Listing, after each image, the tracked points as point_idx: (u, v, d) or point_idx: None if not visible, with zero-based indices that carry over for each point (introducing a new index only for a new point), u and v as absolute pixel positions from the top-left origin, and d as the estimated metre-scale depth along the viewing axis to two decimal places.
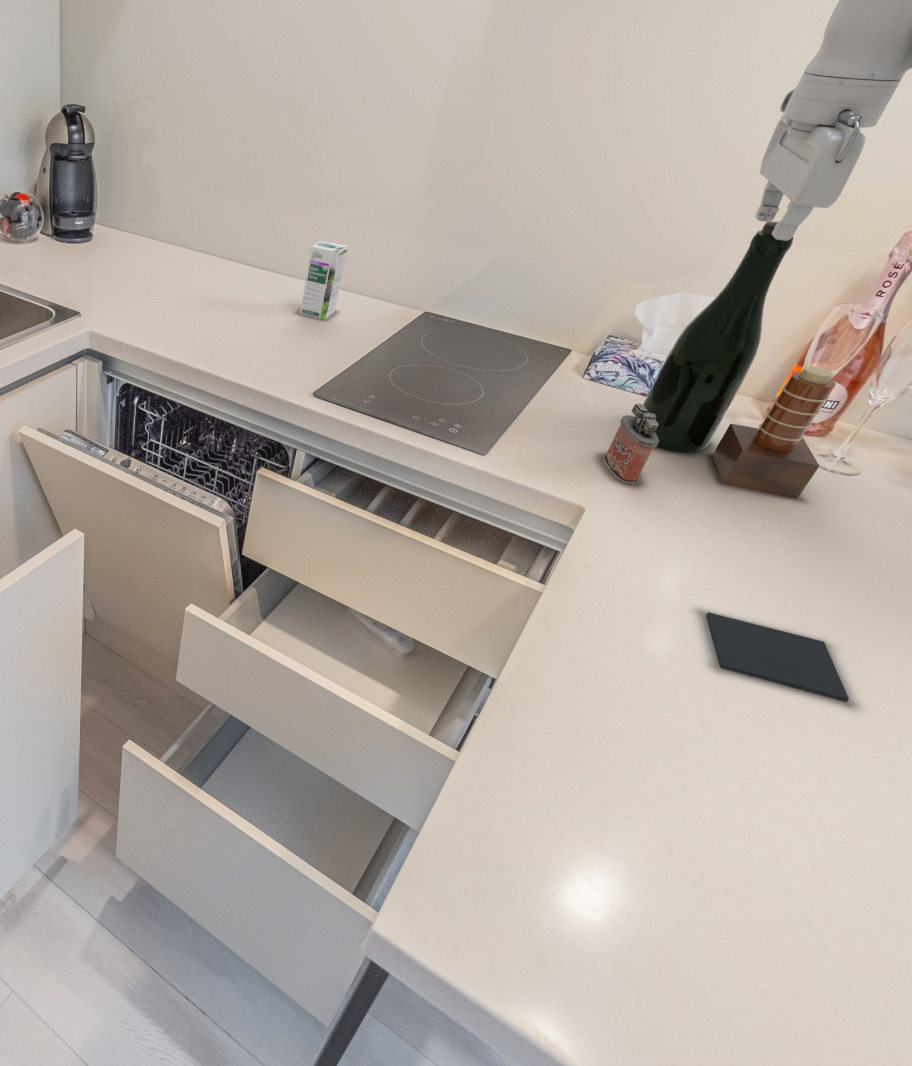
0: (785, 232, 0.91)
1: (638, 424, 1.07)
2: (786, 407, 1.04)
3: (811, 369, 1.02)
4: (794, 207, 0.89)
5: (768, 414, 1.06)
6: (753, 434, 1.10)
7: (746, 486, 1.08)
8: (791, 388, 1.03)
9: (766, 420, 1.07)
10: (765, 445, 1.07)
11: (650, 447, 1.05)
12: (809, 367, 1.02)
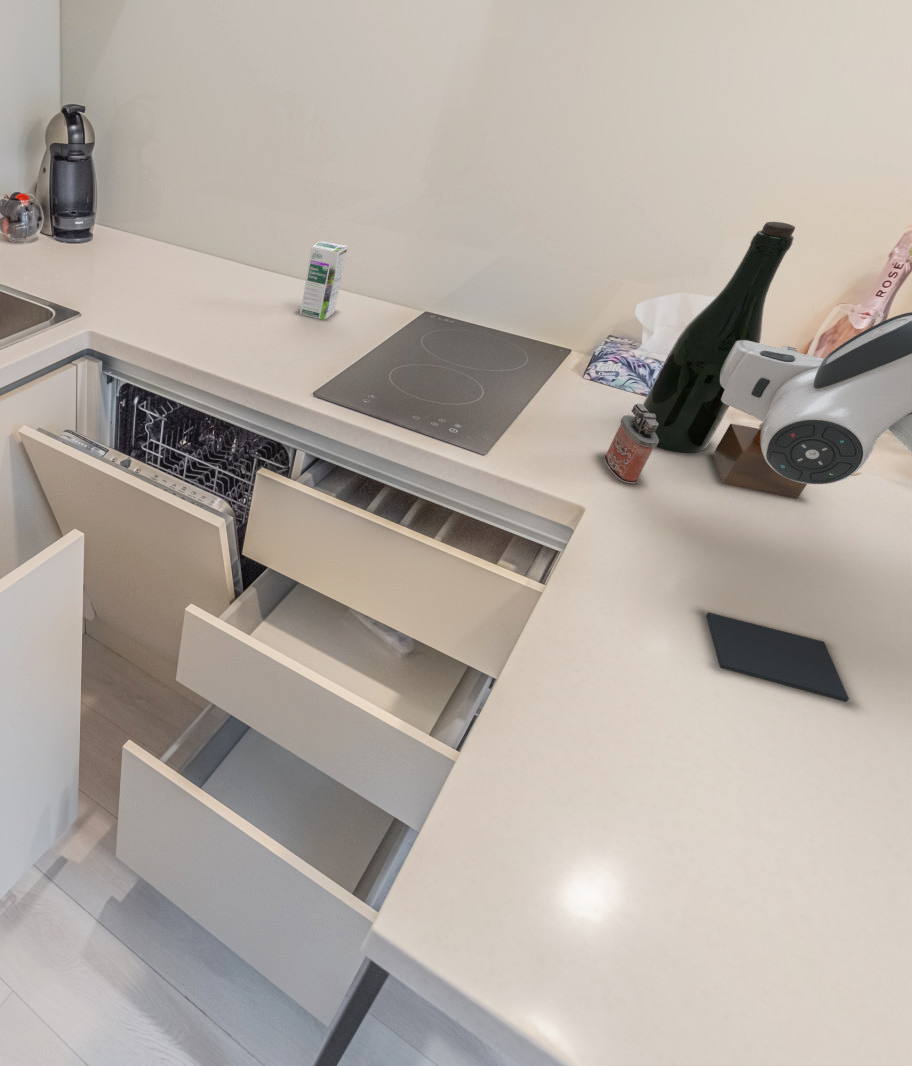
0: None
1: (638, 424, 1.07)
2: None
3: None
4: None
5: None
6: (753, 434, 1.10)
7: (746, 486, 1.08)
8: None
9: None
10: None
11: (650, 447, 1.05)
12: None
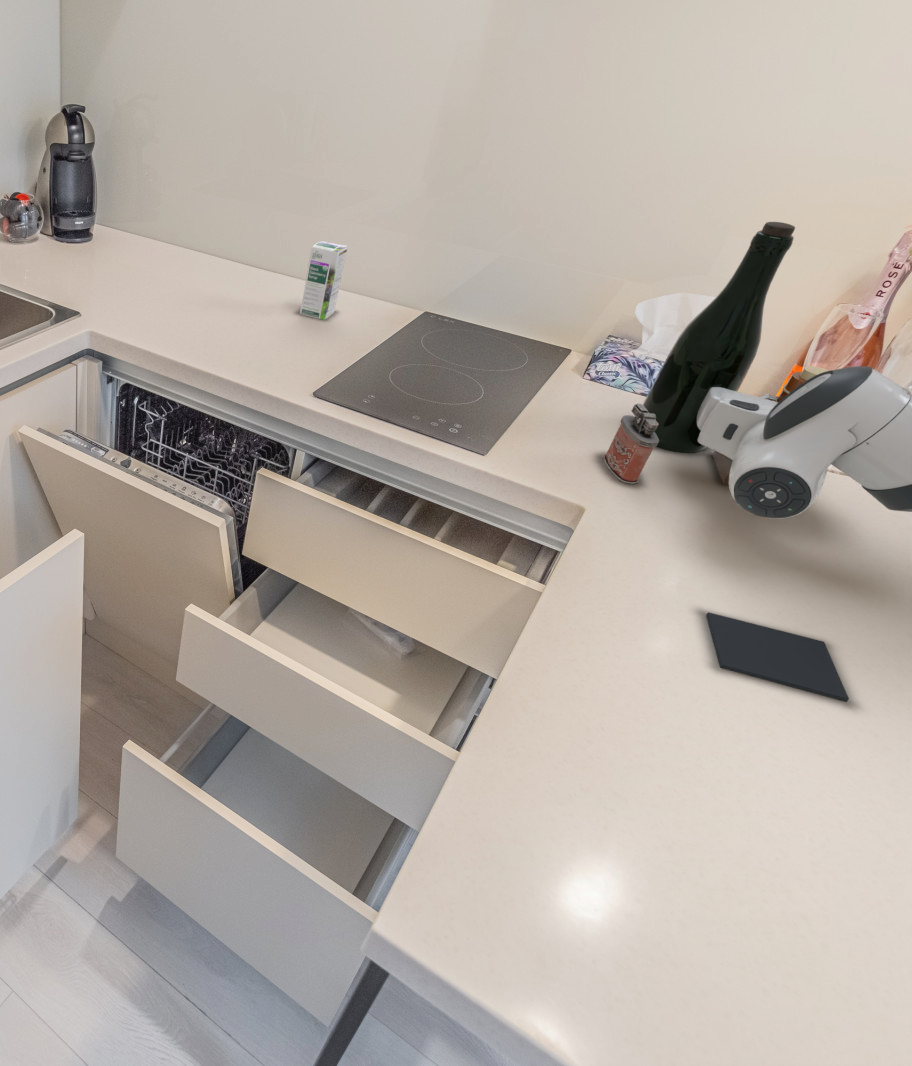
0: None
1: (638, 424, 1.07)
2: None
3: (811, 369, 1.02)
4: None
5: None
6: None
7: None
8: (791, 388, 1.03)
9: None
10: None
11: (650, 447, 1.05)
12: (810, 367, 1.02)
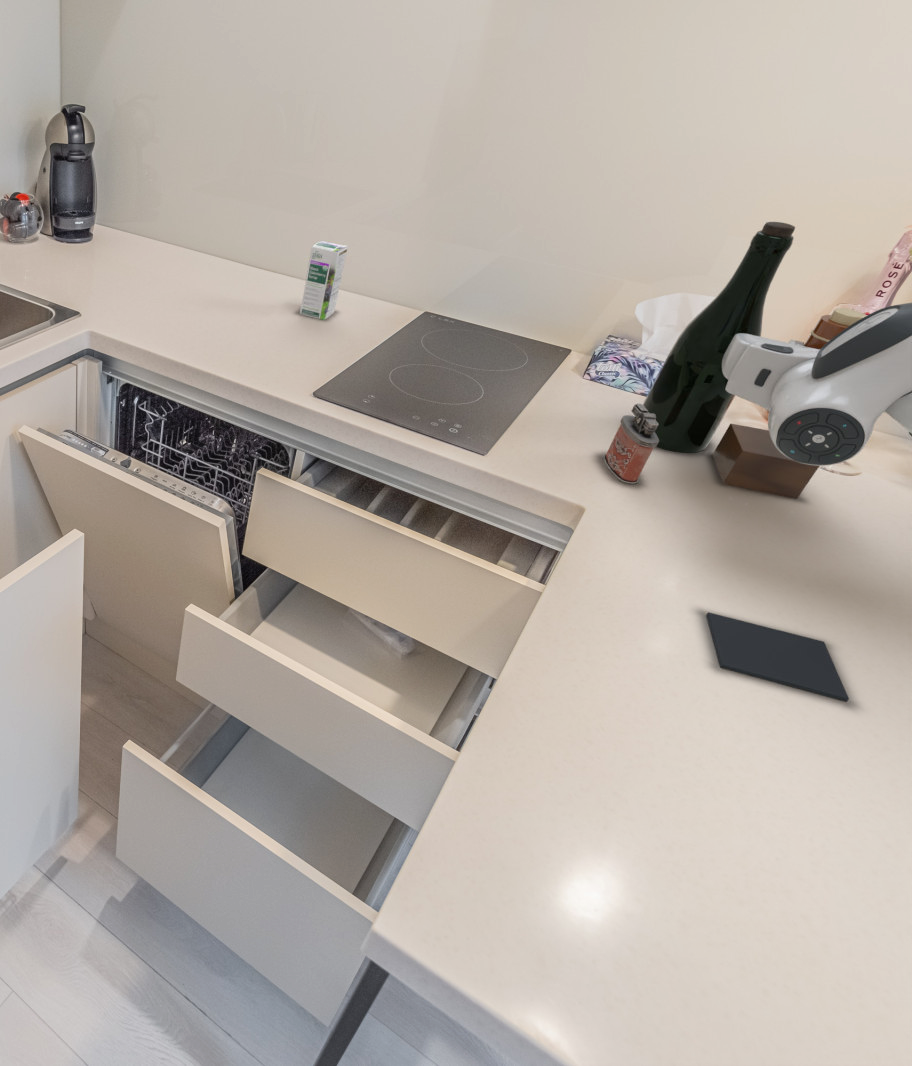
0: None
1: (638, 424, 1.07)
2: None
3: (842, 310, 0.96)
4: None
5: None
6: (753, 434, 1.10)
7: (746, 486, 1.08)
8: (821, 332, 0.97)
9: None
10: None
11: (650, 447, 1.05)
12: (840, 309, 0.96)
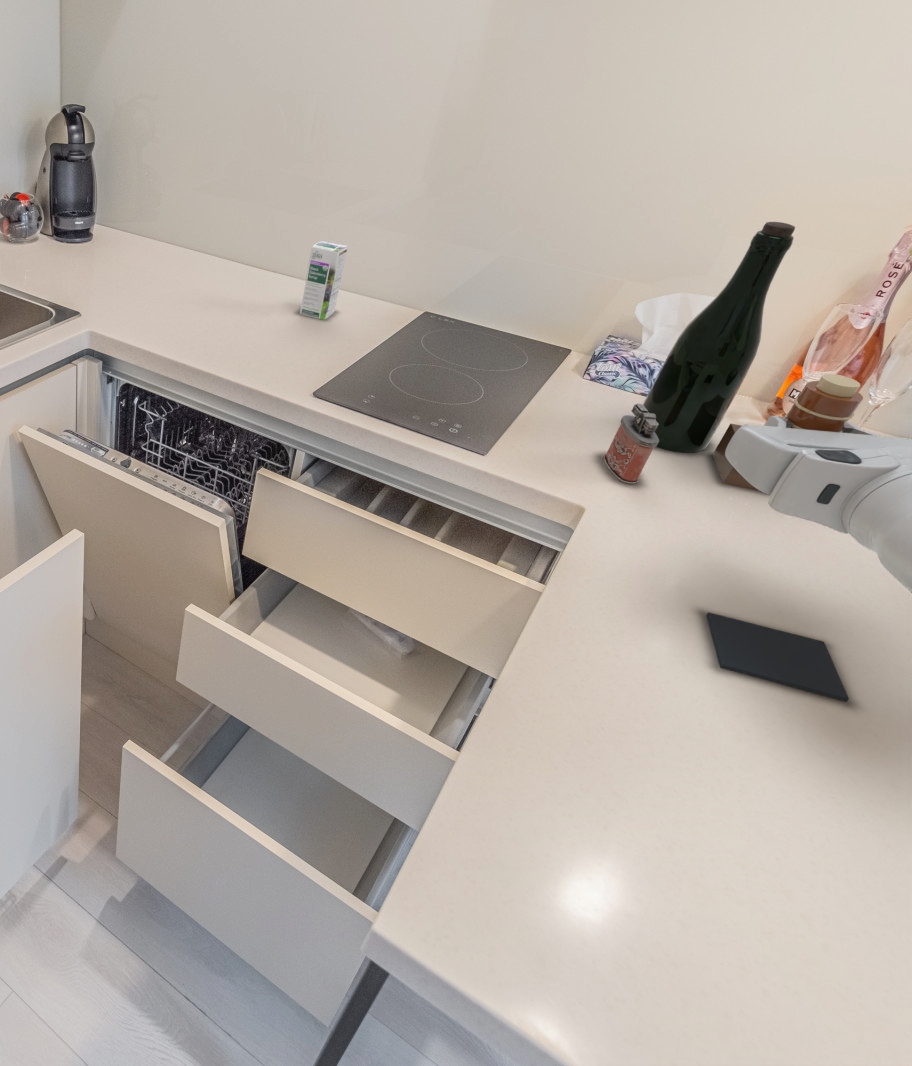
0: None
1: (638, 424, 1.07)
2: None
3: (832, 379, 0.79)
4: None
5: None
6: None
7: (746, 486, 1.08)
8: (818, 408, 0.79)
9: None
10: None
11: (650, 447, 1.05)
12: (827, 377, 0.79)
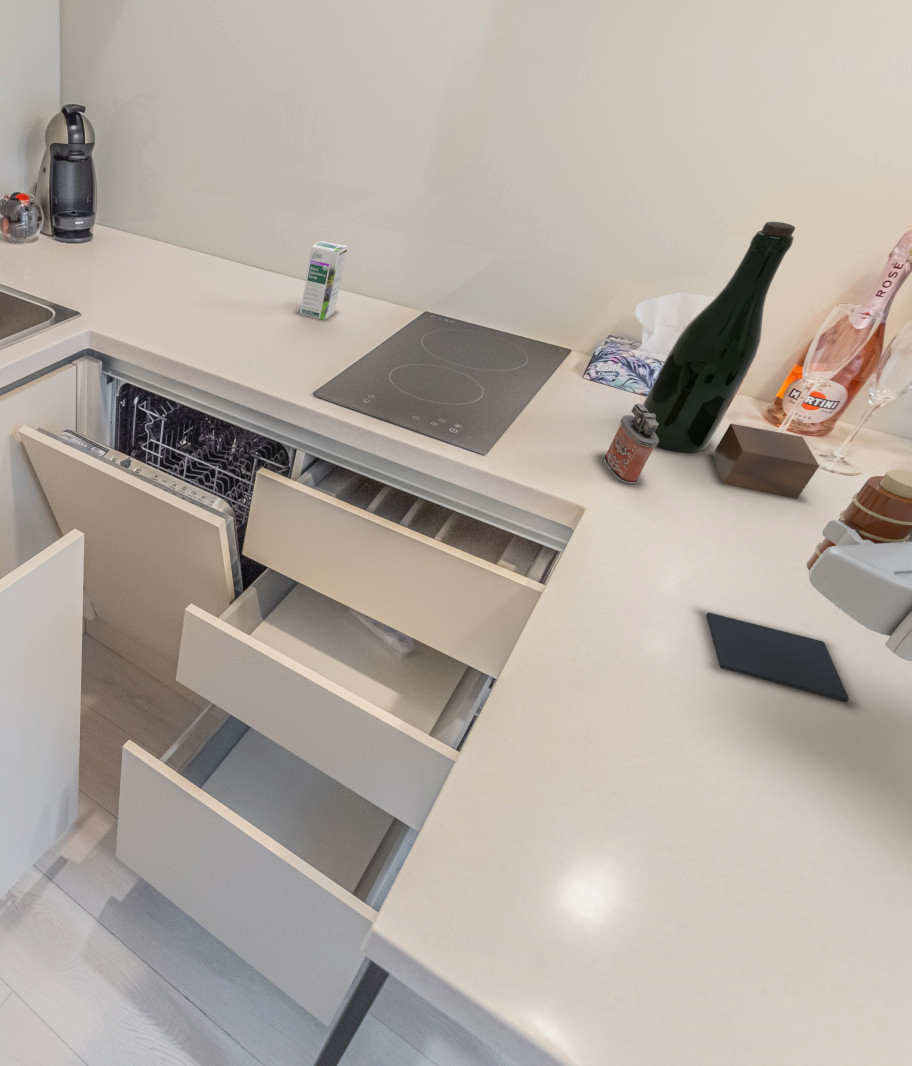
0: None
1: (638, 424, 1.07)
2: (886, 538, 0.69)
3: (901, 478, 0.68)
4: None
5: None
6: (753, 434, 1.10)
7: (746, 486, 1.08)
8: (892, 513, 0.68)
9: None
10: None
11: (650, 447, 1.05)
12: (895, 476, 0.68)
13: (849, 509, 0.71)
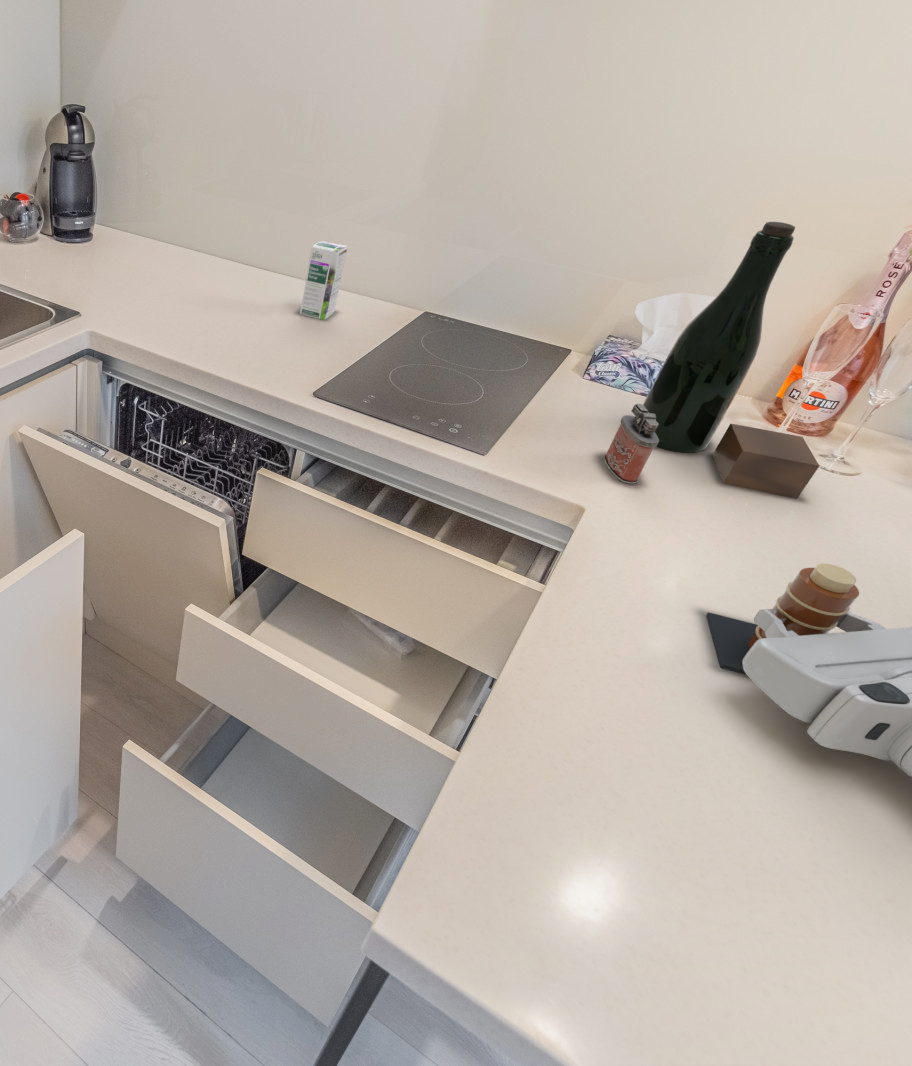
0: None
1: (638, 424, 1.07)
2: (815, 626, 0.76)
3: (828, 573, 0.75)
4: None
5: None
6: (753, 434, 1.10)
7: (746, 486, 1.08)
8: (820, 605, 0.75)
9: None
10: None
11: (650, 447, 1.05)
12: (822, 570, 0.75)
13: (783, 597, 0.78)
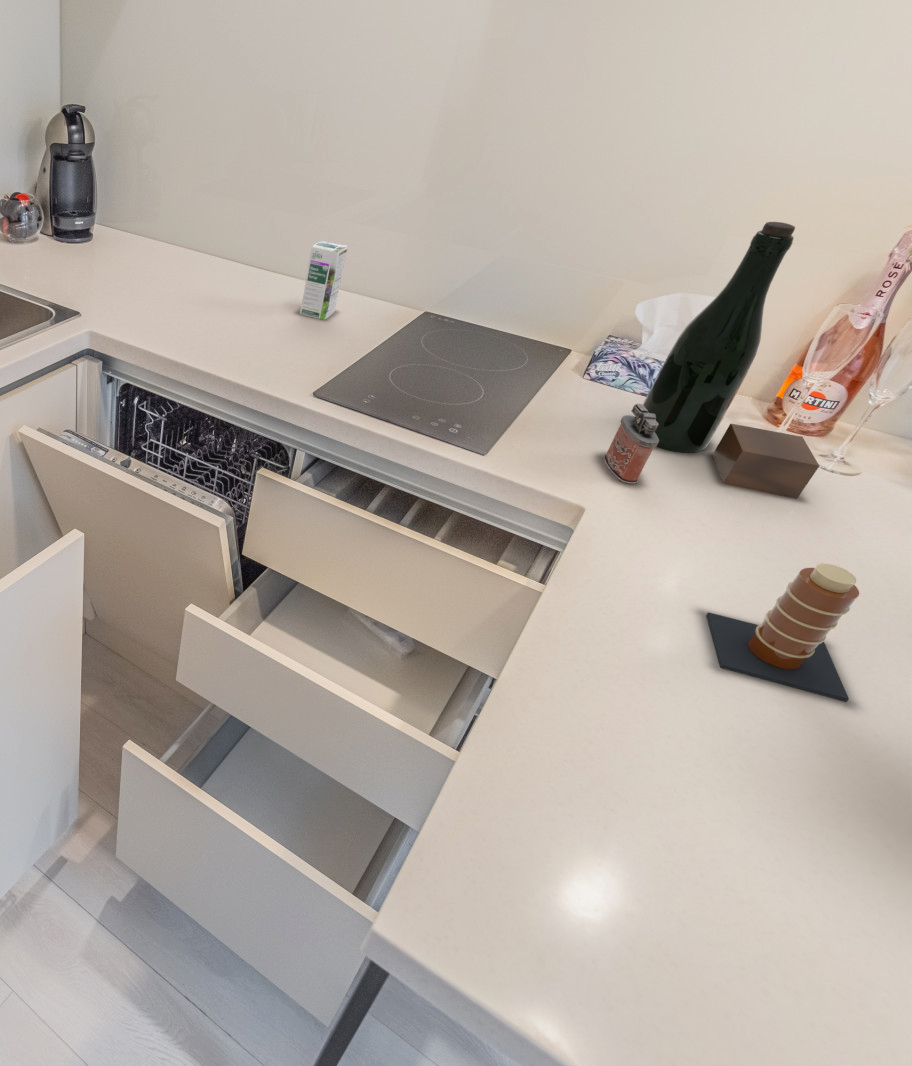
0: None
1: (638, 424, 1.07)
2: (815, 626, 0.76)
3: (828, 573, 0.75)
4: None
5: (781, 632, 0.78)
6: (753, 434, 1.10)
7: (746, 486, 1.08)
8: (820, 605, 0.75)
9: (781, 639, 0.78)
10: (786, 667, 0.79)
11: (650, 447, 1.05)
12: (822, 570, 0.75)
13: (783, 597, 0.78)
